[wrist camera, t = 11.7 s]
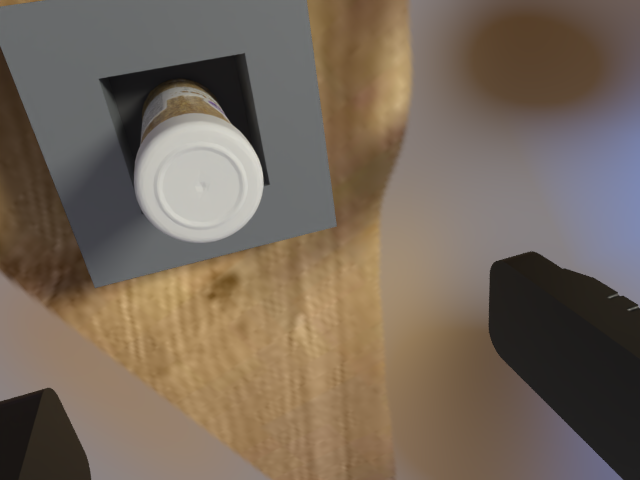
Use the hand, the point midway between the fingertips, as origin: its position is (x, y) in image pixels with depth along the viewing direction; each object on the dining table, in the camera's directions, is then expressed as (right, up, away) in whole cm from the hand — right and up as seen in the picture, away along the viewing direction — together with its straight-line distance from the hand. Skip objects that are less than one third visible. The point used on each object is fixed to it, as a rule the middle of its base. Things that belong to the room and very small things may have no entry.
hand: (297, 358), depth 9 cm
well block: (-8, +9, +21) cm, 24 cm away
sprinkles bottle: (-8, +9, +21) cm, 24 cm away
